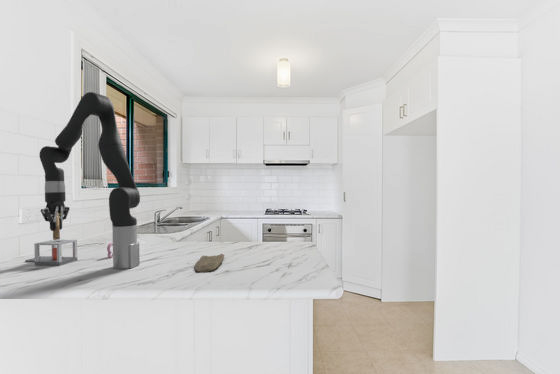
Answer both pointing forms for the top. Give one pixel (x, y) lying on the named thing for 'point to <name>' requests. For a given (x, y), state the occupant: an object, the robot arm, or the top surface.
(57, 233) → the oak dowel
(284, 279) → the top surface
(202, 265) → the stone tool
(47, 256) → the pad
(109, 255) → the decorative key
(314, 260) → the top surface
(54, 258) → the plunger
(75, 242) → the grey open cage
